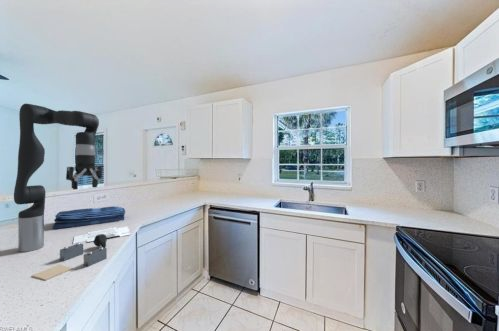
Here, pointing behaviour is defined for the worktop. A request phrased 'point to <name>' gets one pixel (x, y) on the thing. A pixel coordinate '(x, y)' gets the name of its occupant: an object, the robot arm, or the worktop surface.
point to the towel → (88, 217)
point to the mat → (52, 272)
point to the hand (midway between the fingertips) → (85, 188)
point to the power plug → (100, 240)
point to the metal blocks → (88, 258)
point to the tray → (108, 232)
